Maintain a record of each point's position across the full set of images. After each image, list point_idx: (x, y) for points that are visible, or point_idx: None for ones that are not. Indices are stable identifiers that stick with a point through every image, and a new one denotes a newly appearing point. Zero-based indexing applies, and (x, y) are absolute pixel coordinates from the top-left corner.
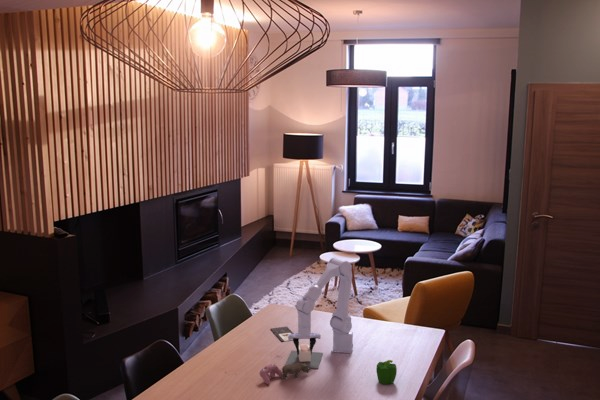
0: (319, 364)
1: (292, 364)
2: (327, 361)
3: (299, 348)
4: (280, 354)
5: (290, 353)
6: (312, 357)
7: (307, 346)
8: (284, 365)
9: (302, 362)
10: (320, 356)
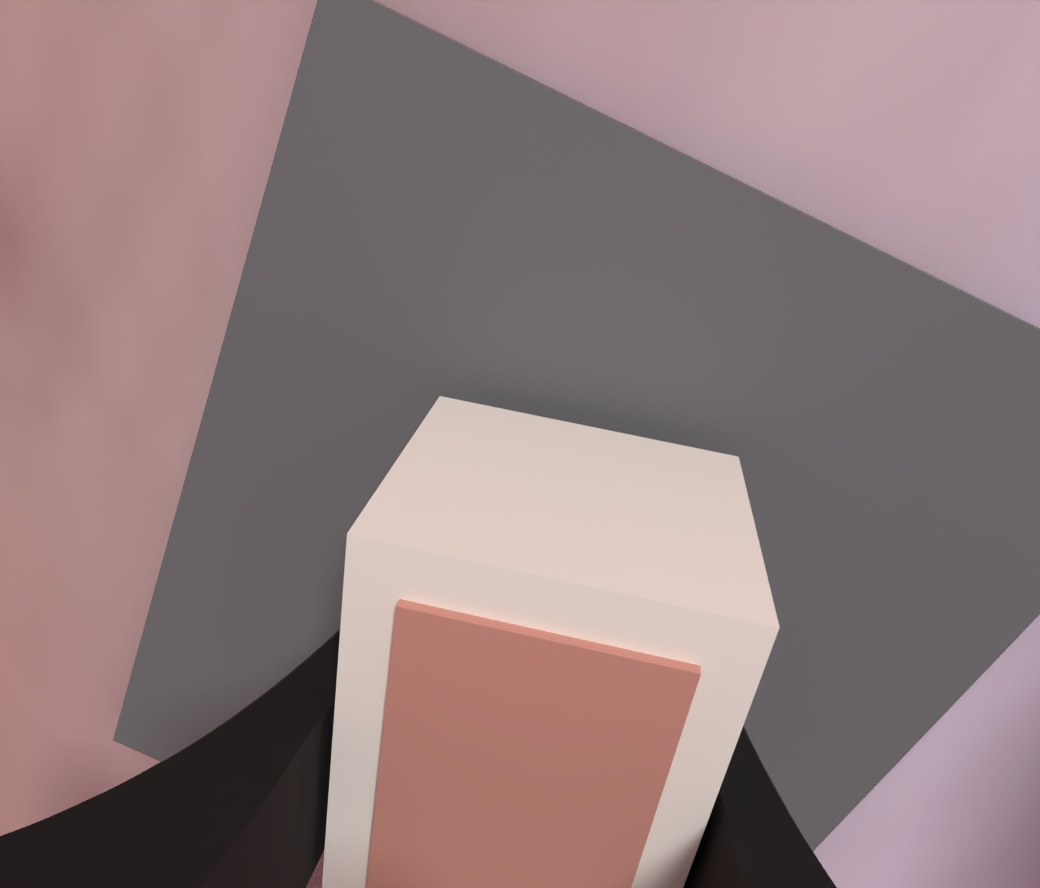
0: None
1: None
2: (1025, 801)
3: (348, 813)
4: (27, 134)
5: (270, 217)
6: None
7: (645, 799)
8: (116, 739)
9: None
10: (994, 616)
